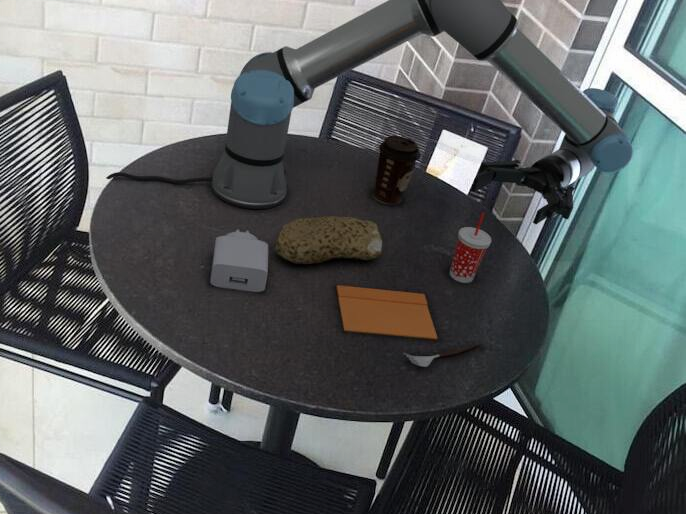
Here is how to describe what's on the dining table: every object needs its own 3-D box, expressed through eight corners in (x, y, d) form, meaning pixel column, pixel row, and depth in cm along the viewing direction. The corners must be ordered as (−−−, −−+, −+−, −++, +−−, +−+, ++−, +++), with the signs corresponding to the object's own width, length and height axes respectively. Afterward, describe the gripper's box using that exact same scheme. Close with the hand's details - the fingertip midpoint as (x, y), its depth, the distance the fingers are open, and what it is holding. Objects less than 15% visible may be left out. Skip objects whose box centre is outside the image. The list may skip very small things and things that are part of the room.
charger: (265, 245, 150) (264, 293, 137) (215, 238, 149) (209, 286, 136) (269, 223, 147) (268, 270, 135) (218, 216, 146) (212, 263, 134)
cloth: (344, 331, 133) (344, 328, 133) (336, 287, 143) (336, 285, 142) (437, 339, 136) (438, 336, 135) (423, 296, 145) (424, 293, 145)
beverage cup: (463, 264, 157) (485, 202, 149) (483, 282, 153) (507, 219, 145) (439, 268, 154) (460, 205, 146) (458, 287, 150) (480, 223, 142)
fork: (484, 351, 135) (488, 342, 134) (408, 372, 128) (412, 362, 126) (475, 342, 137) (478, 332, 136) (399, 361, 129) (402, 351, 128)
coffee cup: (407, 193, 177) (422, 139, 170) (407, 211, 170) (423, 156, 163) (368, 184, 177) (382, 130, 170) (366, 202, 170) (380, 147, 163)
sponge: (363, 242, 159) (268, 217, 152) (381, 214, 154) (284, 186, 147) (371, 291, 150) (271, 266, 143) (391, 263, 145) (288, 236, 138)
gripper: (602, 215, 163) (557, 248, 148) (496, 163, 174) (444, 189, 159) (617, 183, 159) (572, 213, 144) (507, 131, 170) (455, 155, 155)
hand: (504, 201), depth 152 cm, fingers open, 13 cm apart
